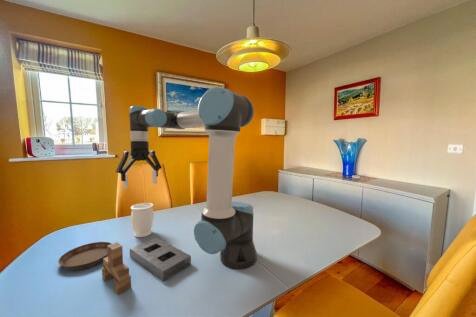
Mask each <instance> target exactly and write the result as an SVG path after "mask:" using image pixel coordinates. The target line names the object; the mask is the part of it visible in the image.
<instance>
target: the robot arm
mask: <svg viewBox="0 0 476 317" xmlns="http://www.w3.org/2000/svg"><path fill="white" fill-rule="evenodd" d="M254 114H255V108H254V105H253V102H252V101H251V99H249V98H248V97H247V96H245V95H243V94H239V93H237V92H234V91H232V90H230V89H229V88H223V87H220V86H213V87H210V88H209V89H207V90H206V91H205V92H204V94H202V96H201V98H200V99H199V102H198V106H197V109H194V110H185V111H179V112H170V111H165V110H163V109H161V108H150V109H147V107H145V106H141V105H132V106H130V107H129V114H128V118H129V130H130V131H129V136H130V140H131V141H130V151H126V150H125V151H123V154H122V157H121V159H120V162H119V164H118V166H117V168H116V170H115V173H117V174H120V180H121V181H122V182H123V189H126V190H127V189H129V180H128V179H129V177H128V176H129V174H128V173H127V172H128V171H129V170H130V169H131V167H132V166H133V164H134V163H135V162H141V161H145V162H146V163H147V164H148V165H149V166H150V167H151V169H153V170H151V175H152V176H151V177H152V178H151V179H152V180H151V181H152V184H154V185H155V184H156V185H157V183H158V178H157V177H158V176H159V171H160V169H162V165H161V163H160V161H159V159H158V157H157V156H156V151H155V150H149V141H148V140H149V128H160V129H161V128H162V129H174V130H185V129H189V128H200V127H204V132H206V133H207V135H208V158H207V179H206V180H207V182H206V183H207V186H206V189H207V190H206V205H205V206H204V207H203V208H202V209H201V220H199V221H198V222H197V223H195V225H194V228H193V236H194V240H195V242H196V244H197V245H198V246H199V248H200V249H201V250H202V251H203V252H205V253H206V254H209V255H217V254H218V253H220V254H219V260H220V262H221V264H223V265H224V266H226V267H227V268H229V269H237V270H243V268H244V269H247V267H248V268H250V267H252V266H254V265H255V264H256V262H257V260H258V259H257V258H258V253H257V250H256V245H255V243H254V207H253V206H252V204H250V203H248V202H242V201H233V185H234V184H233V183H234V182H233V180H234V167H235V166H234V165H235V147H236V138H237V137H238V135H239V134H240V133H241V128H243V127H246V126H248V125H249V124H250V123H251V122H252V120H253V119H254ZM149 155H150V157H151V158H150V157H149ZM130 156H131V158H129V157H130ZM128 159H129V160H128ZM127 161H128V162H127ZM254 263H255V264H254ZM253 264H254V265H253ZM251 265H252V266H251Z"/></svg>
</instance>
